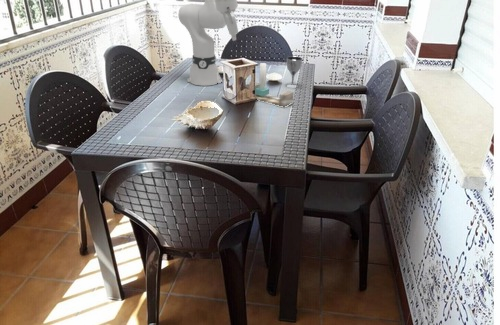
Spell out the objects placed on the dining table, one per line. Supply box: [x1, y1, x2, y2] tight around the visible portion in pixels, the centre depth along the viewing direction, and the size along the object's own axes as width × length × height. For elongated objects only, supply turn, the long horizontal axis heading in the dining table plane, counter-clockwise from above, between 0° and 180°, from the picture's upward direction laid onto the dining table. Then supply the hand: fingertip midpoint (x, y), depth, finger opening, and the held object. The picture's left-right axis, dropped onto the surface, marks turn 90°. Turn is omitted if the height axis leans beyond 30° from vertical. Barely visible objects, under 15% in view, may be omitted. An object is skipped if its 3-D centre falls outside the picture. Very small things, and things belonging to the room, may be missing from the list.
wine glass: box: [286, 55, 303, 85], centre depth 212 cm, size 8×8×15 cm
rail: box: [254, 82, 295, 107], centre depth 192 cm, size 22×7×6 cm, turn 52°
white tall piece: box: [255, 62, 270, 96], centre depth 191 cm, size 5×5×14 cm
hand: (232, 35), depth 174 cm, fingers open, 8 cm apart
